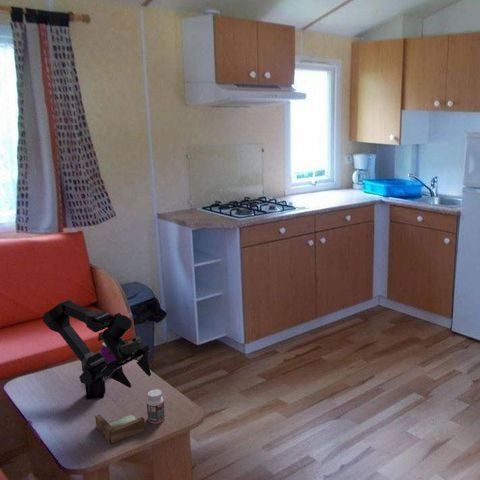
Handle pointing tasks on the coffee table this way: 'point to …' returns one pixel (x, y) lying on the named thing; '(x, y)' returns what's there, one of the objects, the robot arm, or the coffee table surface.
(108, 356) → the beverage can
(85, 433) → the coffee table surface
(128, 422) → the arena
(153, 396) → the pill bottle
